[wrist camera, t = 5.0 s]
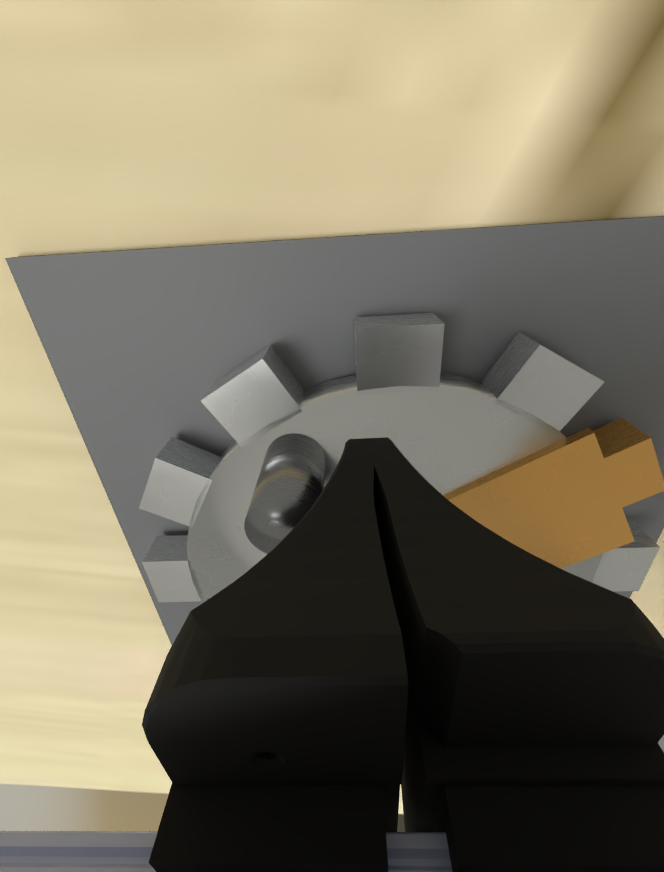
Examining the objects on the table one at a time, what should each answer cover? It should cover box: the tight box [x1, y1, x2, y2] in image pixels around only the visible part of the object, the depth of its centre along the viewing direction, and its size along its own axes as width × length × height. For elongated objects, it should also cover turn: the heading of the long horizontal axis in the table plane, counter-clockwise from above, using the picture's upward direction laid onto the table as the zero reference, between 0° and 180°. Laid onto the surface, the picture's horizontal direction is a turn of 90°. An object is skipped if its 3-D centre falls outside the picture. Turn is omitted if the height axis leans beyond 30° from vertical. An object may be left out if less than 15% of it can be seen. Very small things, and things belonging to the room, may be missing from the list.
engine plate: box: [5, 216, 664, 645], centre depth 15 cm, size 22×21×1 cm
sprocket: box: [139, 313, 664, 603], centre depth 13 cm, size 18×18×4 cm
